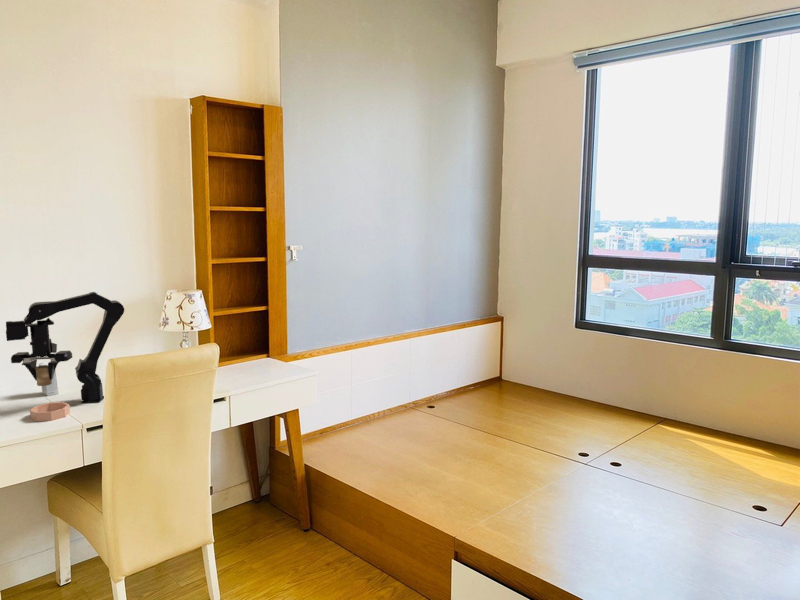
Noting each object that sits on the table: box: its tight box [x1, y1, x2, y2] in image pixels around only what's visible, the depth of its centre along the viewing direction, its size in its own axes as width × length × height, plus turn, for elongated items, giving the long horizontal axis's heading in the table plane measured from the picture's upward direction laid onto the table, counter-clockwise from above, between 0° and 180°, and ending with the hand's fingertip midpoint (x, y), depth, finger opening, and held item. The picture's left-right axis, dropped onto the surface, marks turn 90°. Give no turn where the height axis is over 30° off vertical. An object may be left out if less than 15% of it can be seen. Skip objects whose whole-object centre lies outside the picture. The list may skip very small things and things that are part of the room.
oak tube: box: [36, 365, 52, 387], centre depth 228 cm, size 5×5×7 cm
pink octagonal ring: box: [29, 401, 71, 422], centre depth 220 cm, size 11×11×3 cm
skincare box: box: [38, 361, 59, 397], centre depth 246 cm, size 6×4×12 cm
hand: (44, 379), depth 228 cm, fingers closed on oak tube, 5 cm apart
